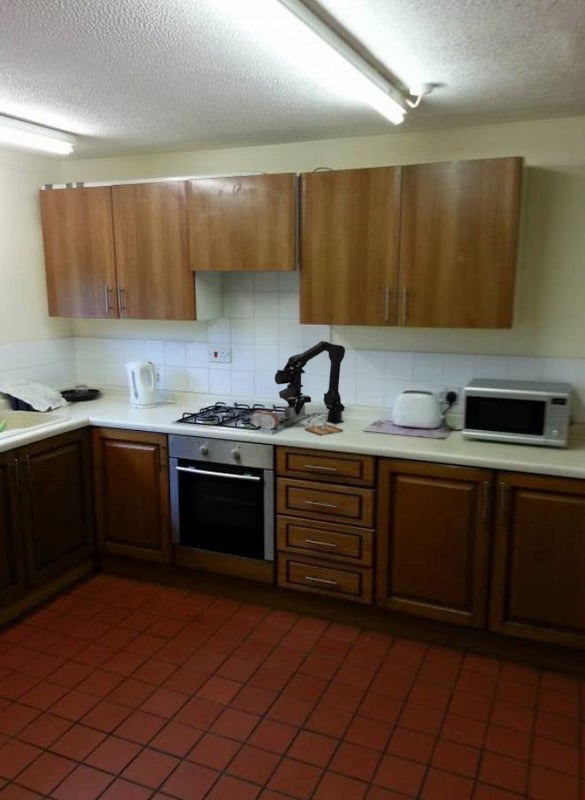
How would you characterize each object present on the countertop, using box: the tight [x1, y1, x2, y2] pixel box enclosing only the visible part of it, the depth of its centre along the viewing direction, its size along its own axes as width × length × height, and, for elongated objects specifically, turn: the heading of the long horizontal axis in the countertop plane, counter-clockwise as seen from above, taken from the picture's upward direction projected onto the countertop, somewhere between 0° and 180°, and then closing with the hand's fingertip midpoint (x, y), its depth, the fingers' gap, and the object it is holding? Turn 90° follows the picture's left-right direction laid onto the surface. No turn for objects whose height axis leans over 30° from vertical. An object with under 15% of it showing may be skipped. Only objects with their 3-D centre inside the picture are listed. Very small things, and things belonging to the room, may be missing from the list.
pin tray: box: [304, 420, 344, 437], centre depth 310 cm, size 14×12×4 cm
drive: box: [283, 404, 306, 419], centre depth 314 cm, size 10×4×5 cm, turn 132°
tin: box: [250, 409, 280, 429], centre depth 313 cm, size 15×3×8 cm, turn 59°
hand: (294, 414), depth 314 cm, fingers closed on drive, 4 cm apart
